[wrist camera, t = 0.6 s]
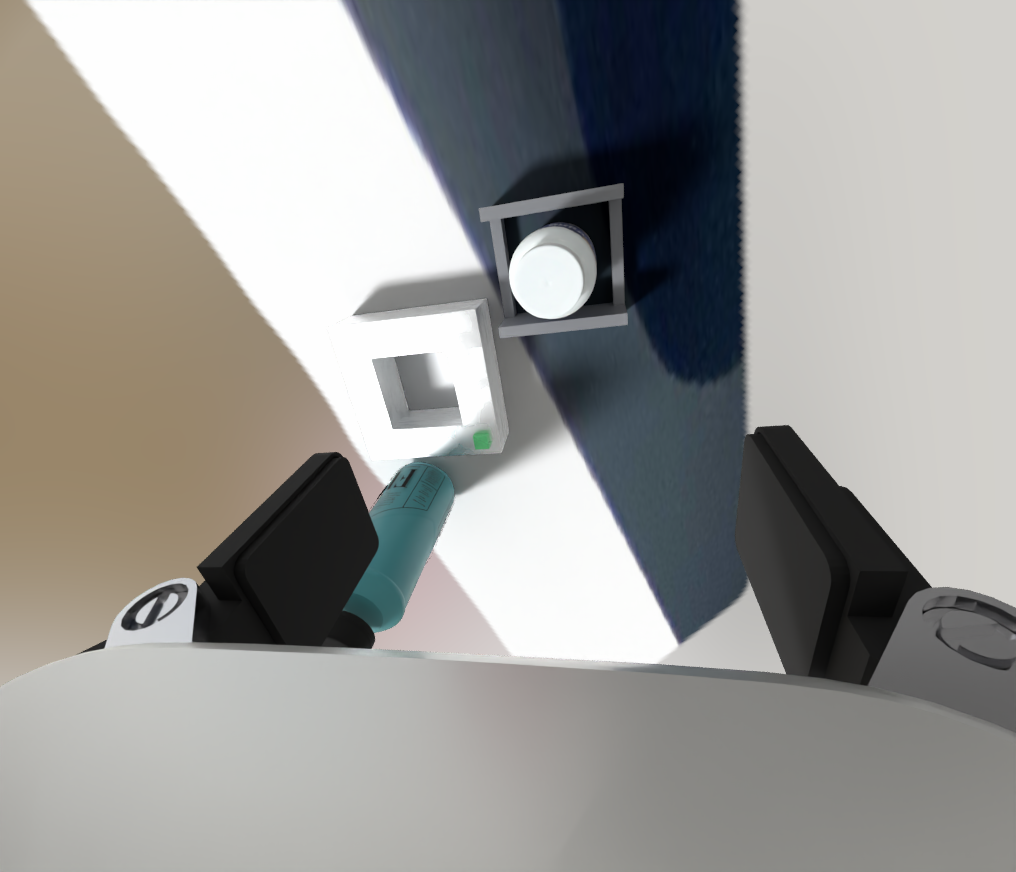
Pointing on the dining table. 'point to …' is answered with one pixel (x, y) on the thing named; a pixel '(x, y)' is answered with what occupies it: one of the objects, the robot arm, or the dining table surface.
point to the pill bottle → (553, 270)
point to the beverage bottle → (395, 553)
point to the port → (380, 393)
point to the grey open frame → (586, 314)
